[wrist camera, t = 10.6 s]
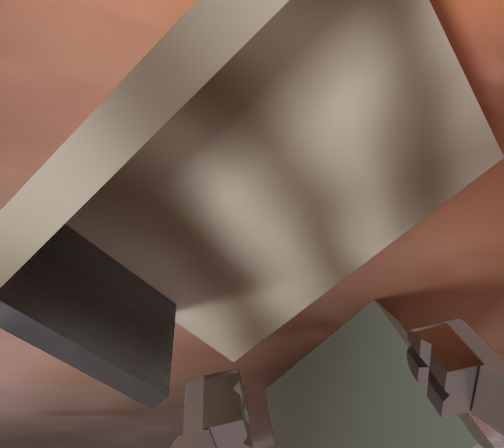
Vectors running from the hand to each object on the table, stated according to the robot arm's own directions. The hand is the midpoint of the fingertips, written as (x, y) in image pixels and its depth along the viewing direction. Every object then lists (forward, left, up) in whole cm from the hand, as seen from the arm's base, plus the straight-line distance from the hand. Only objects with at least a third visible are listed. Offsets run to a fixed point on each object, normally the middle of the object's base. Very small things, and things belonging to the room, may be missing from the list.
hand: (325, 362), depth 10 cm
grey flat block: (-4, -12, -11) cm, 17 cm away
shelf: (+2, +2, -11) cm, 11 cm away
